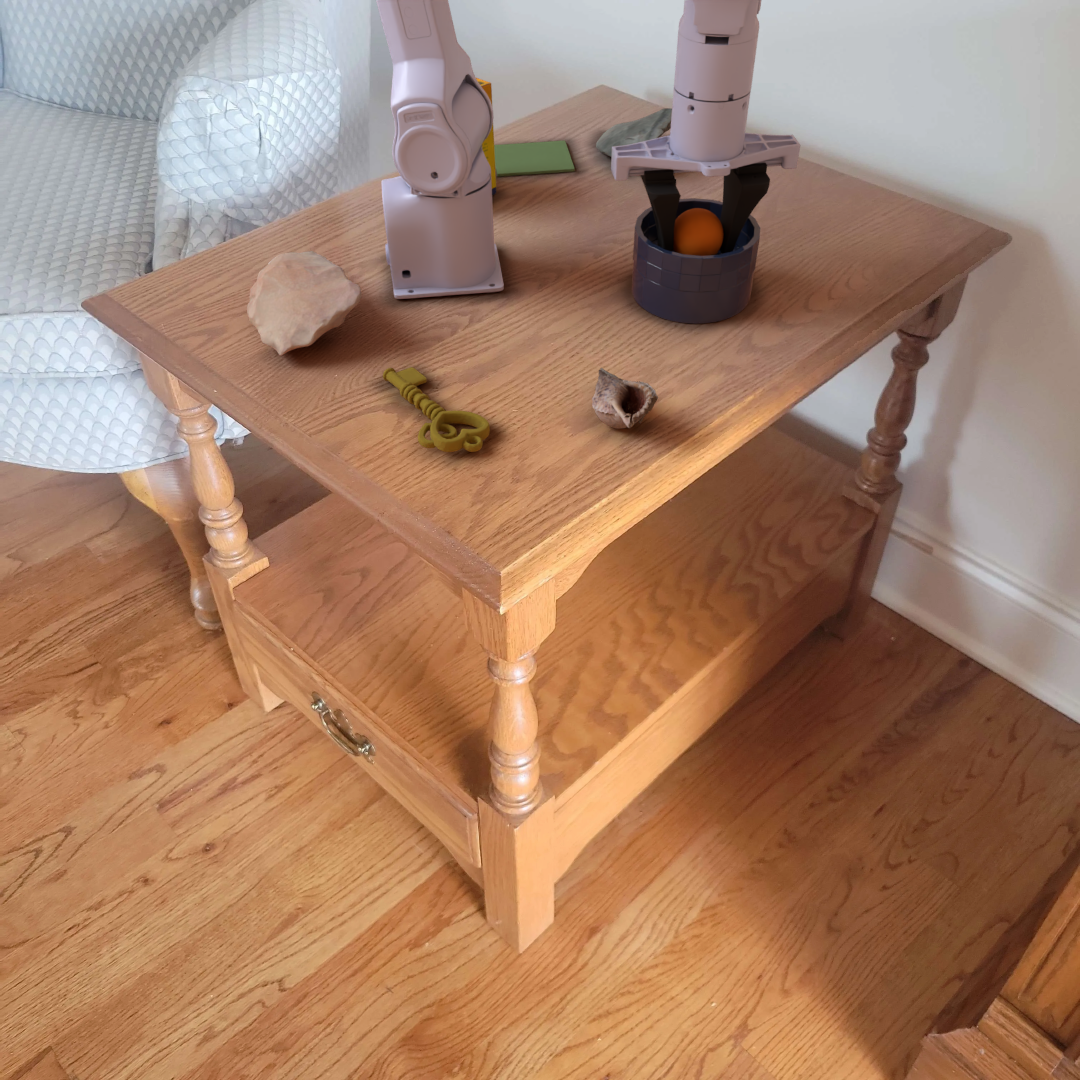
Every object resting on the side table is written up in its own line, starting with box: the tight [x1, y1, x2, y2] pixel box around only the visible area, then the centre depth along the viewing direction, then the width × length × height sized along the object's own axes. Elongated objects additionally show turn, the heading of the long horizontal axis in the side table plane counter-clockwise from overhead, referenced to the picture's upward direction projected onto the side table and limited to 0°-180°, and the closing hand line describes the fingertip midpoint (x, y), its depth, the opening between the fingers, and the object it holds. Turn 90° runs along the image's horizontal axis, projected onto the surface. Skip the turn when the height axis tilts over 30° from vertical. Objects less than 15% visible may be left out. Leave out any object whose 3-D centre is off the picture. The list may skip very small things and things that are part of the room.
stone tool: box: [246, 250, 363, 356], centre depth 84 cm, size 9×5×15 cm
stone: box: [595, 107, 672, 157], centre depth 105 cm, size 11×4×10 cm
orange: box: [673, 208, 724, 256], centre depth 84 cm, size 4×4×4 cm
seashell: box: [591, 367, 659, 429], centre depth 73 cm, size 4×8×4 cm
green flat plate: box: [494, 139, 576, 178], centre depth 106 cm, size 8×7×1 cm
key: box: [382, 366, 491, 453], centre depth 75 cm, size 12×1×5 cm
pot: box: [631, 197, 762, 325], centre depth 85 cm, size 10×10×6 cm
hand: (694, 253), depth 85 cm, fingers open, 4 cm apart
